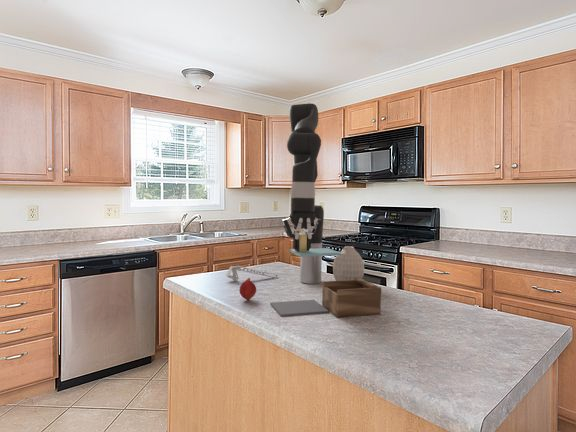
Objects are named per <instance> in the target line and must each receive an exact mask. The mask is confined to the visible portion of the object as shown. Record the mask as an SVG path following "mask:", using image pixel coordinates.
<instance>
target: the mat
mask: <svg viewBox="0 0 576 432" xmlns="http://www.w3.org/2000/svg"><path fill="white" fill-rule="evenodd" d="M269 305H270V306H271V308H273V310H275V312H276V313H277V314H278V315H279V316H280V317H291V316H303V315H315V314H316V315H317V314H318V315H319V314H326V313H327V314H328V313H330V312H329V311H328V310H327V309H326V308H324V307H323V306H322V304H320V303H319V302H318V301H316V300H315V299H304V300H303V299H302V300H292V301H291V300H289V301H287V300H285V301H273V302H270V304H269Z"/></svg>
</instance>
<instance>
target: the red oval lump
mask: <svg viewBox="0 0 576 432" xmlns="http://www.w3.org/2000/svg"><path fill="white" fill-rule="evenodd" d="M256 293H257V287H256V284H255V283H254V282H253V281H252V280H251V277H248V278H246V280H244V281H243V282H242V283H241V285H240V286H239V294H240V296H241V297H242V298H243V299H244V300H246V301H250V300H251V299H252V298H253V297H254V296H255V295H256Z"/></svg>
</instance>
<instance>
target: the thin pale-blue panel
mask: <svg viewBox="0 0 576 432" xmlns="http://www.w3.org/2000/svg"><path fill="white" fill-rule="evenodd" d="M298 239H299V251H295V249H293V248H290V249H289V253H292V254H293V255H296V256H298V257H300V258H301V257H309V256H322V257H329V256H332V257H333V256H337V255H341V253H340V251H336V250H334V249H331V248H329V247H326V248H325V247H322V248H317V249H309V251H307V234H305V233H299V238H298Z"/></svg>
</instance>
